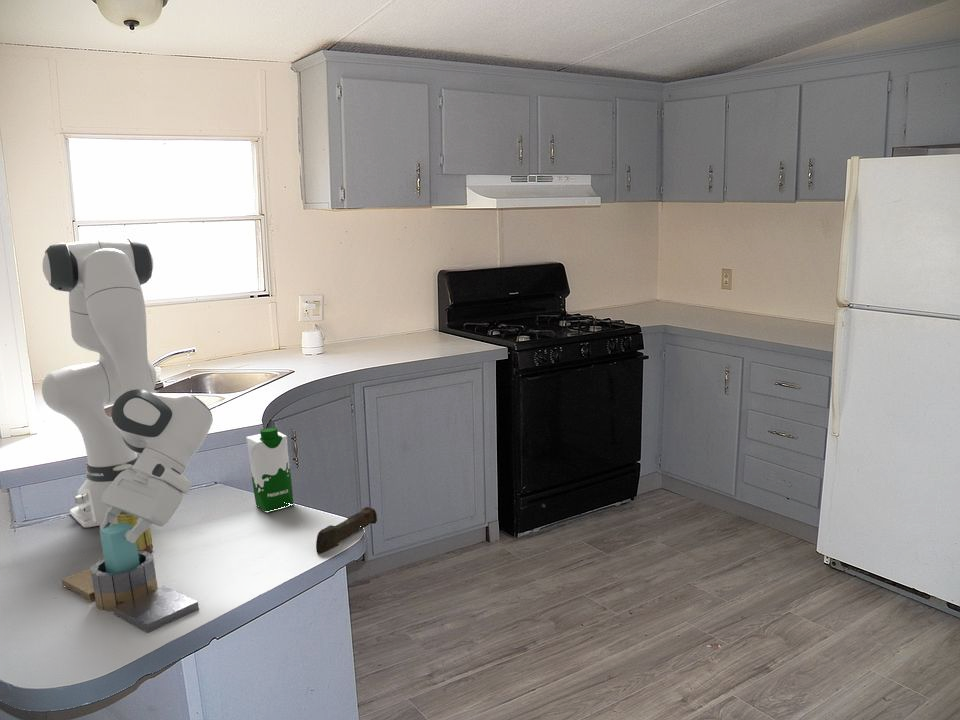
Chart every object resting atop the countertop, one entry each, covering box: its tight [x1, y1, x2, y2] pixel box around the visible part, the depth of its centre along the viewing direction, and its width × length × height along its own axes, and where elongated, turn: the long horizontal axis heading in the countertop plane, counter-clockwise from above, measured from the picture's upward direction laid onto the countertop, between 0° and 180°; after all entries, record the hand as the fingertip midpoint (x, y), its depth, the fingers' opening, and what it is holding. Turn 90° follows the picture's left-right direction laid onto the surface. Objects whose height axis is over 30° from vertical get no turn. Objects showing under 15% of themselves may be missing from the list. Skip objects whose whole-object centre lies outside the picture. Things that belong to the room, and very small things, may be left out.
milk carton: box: [245, 427, 294, 512], centre depth 199 cm, size 9×9×20 cm
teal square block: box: [99, 522, 140, 573], centre depth 155 cm, size 4×4×14 cm
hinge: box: [61, 551, 200, 634], centre depth 155 cm, size 34×11×7 cm, turn 50°
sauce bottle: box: [113, 464, 154, 553], centre depth 175 cm, size 6×6×20 cm
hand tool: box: [315, 506, 378, 554], centre depth 178 cm, size 19×4×5 cm, turn 149°
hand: (116, 536), depth 154 cm, fingers open, 8 cm apart
